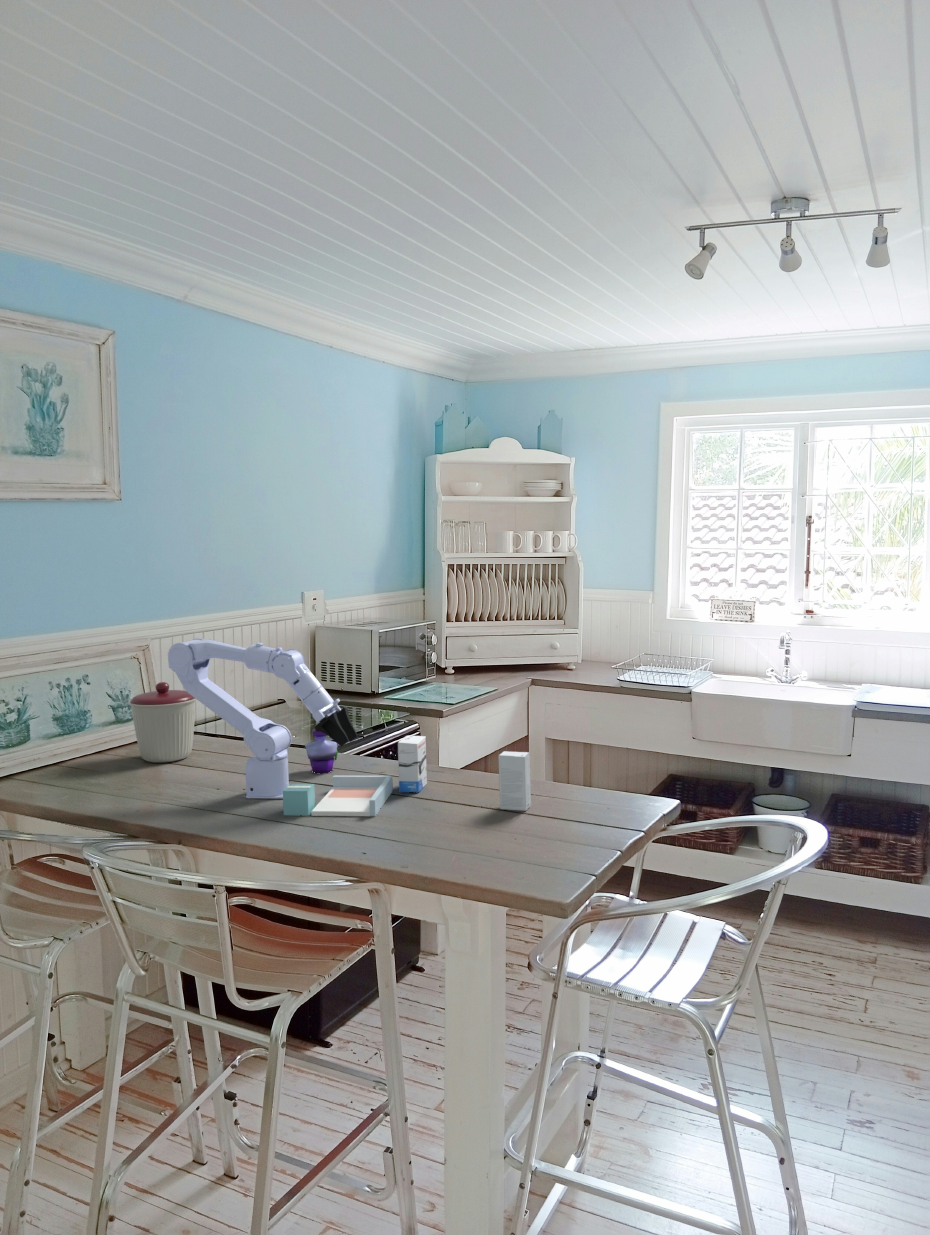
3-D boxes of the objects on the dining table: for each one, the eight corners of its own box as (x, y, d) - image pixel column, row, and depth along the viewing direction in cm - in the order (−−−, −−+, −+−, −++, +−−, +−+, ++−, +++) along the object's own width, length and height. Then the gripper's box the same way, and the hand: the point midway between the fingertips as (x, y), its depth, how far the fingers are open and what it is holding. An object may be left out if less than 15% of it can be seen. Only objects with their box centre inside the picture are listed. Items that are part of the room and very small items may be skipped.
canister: (173, 747, 277) (168, 675, 275) (214, 755, 266) (210, 679, 264) (117, 761, 262) (112, 684, 260) (159, 770, 252) (154, 690, 249)
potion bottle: (345, 771, 245) (343, 725, 243) (314, 777, 240) (312, 730, 239) (330, 765, 252) (328, 719, 251) (299, 770, 247) (297, 724, 246)
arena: (311, 815, 208) (310, 799, 208) (334, 789, 228) (333, 775, 228) (375, 816, 207) (374, 800, 206) (393, 790, 226) (392, 775, 226)
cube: (283, 815, 209) (282, 790, 209) (291, 808, 215) (290, 783, 214) (308, 815, 209) (307, 790, 208) (315, 808, 214) (314, 783, 214)
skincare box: (531, 805, 211) (530, 752, 210) (526, 811, 207) (525, 756, 206) (504, 803, 213) (503, 750, 212) (499, 809, 209) (497, 755, 208)
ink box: (419, 793, 223) (417, 743, 222) (398, 792, 224) (396, 742, 223) (427, 783, 232) (426, 735, 230) (407, 783, 233) (406, 734, 231)
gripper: (316, 686, 213) (354, 734, 212) (334, 681, 227) (370, 726, 226) (292, 706, 214) (330, 754, 213) (312, 699, 228) (348, 745, 227)
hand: (349, 741), depth 219 cm, fingers open, 7 cm apart
